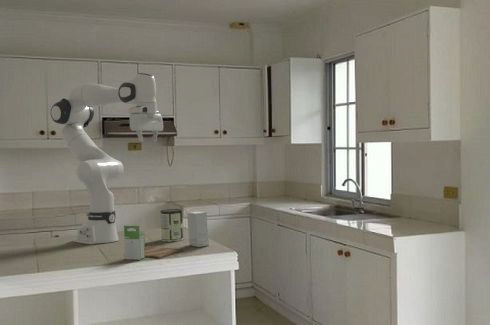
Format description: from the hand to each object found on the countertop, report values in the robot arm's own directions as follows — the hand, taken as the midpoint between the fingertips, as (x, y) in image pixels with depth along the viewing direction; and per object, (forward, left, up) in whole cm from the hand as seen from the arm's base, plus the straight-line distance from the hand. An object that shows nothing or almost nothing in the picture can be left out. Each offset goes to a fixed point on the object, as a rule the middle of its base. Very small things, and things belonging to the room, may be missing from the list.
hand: (147, 141), depth 233 cm
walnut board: (+11, -12, -46) cm, 49 cm away
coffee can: (-1, +17, -47) cm, 50 cm away
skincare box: (+19, +9, -47) cm, 51 cm away
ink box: (+11, -24, -47) cm, 54 cm away
